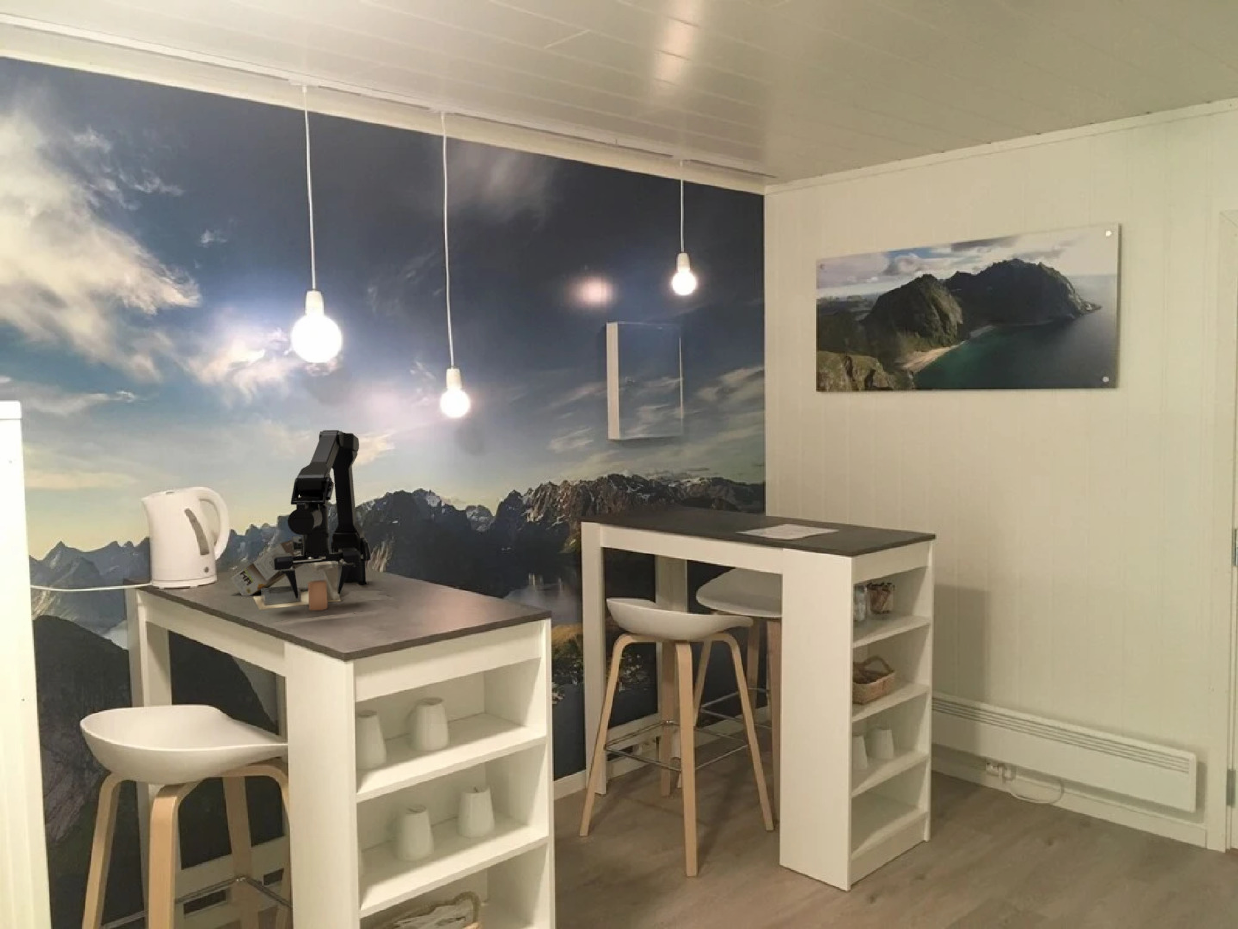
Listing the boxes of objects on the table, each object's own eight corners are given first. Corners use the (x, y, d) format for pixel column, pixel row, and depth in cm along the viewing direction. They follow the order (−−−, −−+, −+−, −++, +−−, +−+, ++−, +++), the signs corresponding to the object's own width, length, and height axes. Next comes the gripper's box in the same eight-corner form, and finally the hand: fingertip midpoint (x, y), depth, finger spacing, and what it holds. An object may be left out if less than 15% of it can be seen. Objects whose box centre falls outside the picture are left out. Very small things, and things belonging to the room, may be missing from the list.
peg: (326, 609, 224) (324, 579, 223) (329, 613, 221) (327, 582, 220) (307, 611, 222) (306, 581, 222) (310, 615, 219) (309, 584, 218)
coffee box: (244, 600, 235) (294, 565, 232) (229, 578, 235) (279, 543, 232) (264, 591, 244) (312, 558, 241) (250, 570, 244) (298, 536, 241)
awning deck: (330, 592, 242) (328, 554, 241) (341, 605, 229) (339, 564, 228) (253, 600, 234) (251, 561, 233) (260, 613, 221) (258, 572, 220)
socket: (296, 595, 235) (295, 585, 235) (301, 601, 228) (300, 591, 228) (261, 598, 232) (260, 588, 231) (265, 605, 224) (264, 594, 224)
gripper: (350, 520, 231) (352, 585, 232) (267, 526, 223) (270, 593, 224) (360, 526, 221) (362, 594, 223) (273, 533, 213) (276, 603, 214)
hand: (317, 596), depth 221 cm, fingers open, 9 cm apart
